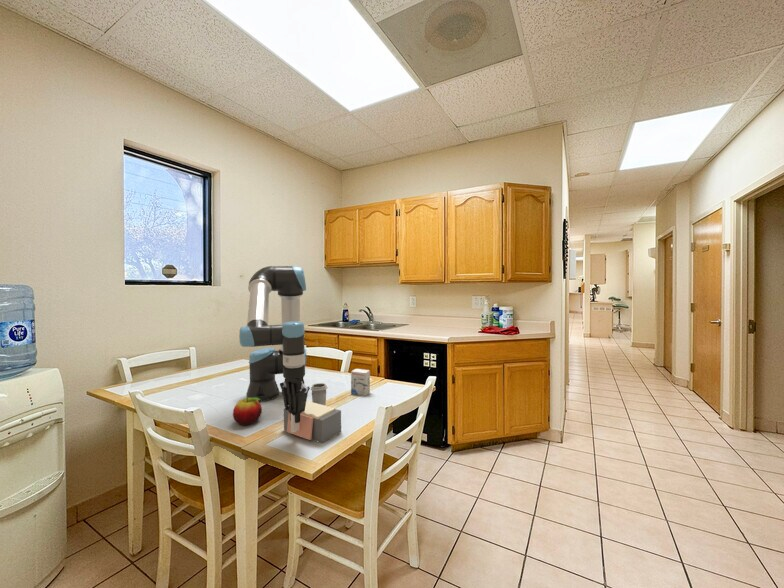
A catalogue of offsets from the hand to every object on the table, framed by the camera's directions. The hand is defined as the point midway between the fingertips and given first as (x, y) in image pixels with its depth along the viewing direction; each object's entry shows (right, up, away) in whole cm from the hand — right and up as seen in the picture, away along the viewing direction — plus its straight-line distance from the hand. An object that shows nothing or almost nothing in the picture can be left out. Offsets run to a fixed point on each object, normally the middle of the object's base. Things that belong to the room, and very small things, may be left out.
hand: (295, 430), depth 117 cm
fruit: (-24, -3, +15) cm, 28 cm away
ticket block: (+4, -3, +7) cm, 9 cm away
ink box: (+19, -2, +48) cm, 51 cm away
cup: (+3, -3, +24) cm, 25 cm away
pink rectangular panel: (+1, +1, +2) cm, 3 cm away
